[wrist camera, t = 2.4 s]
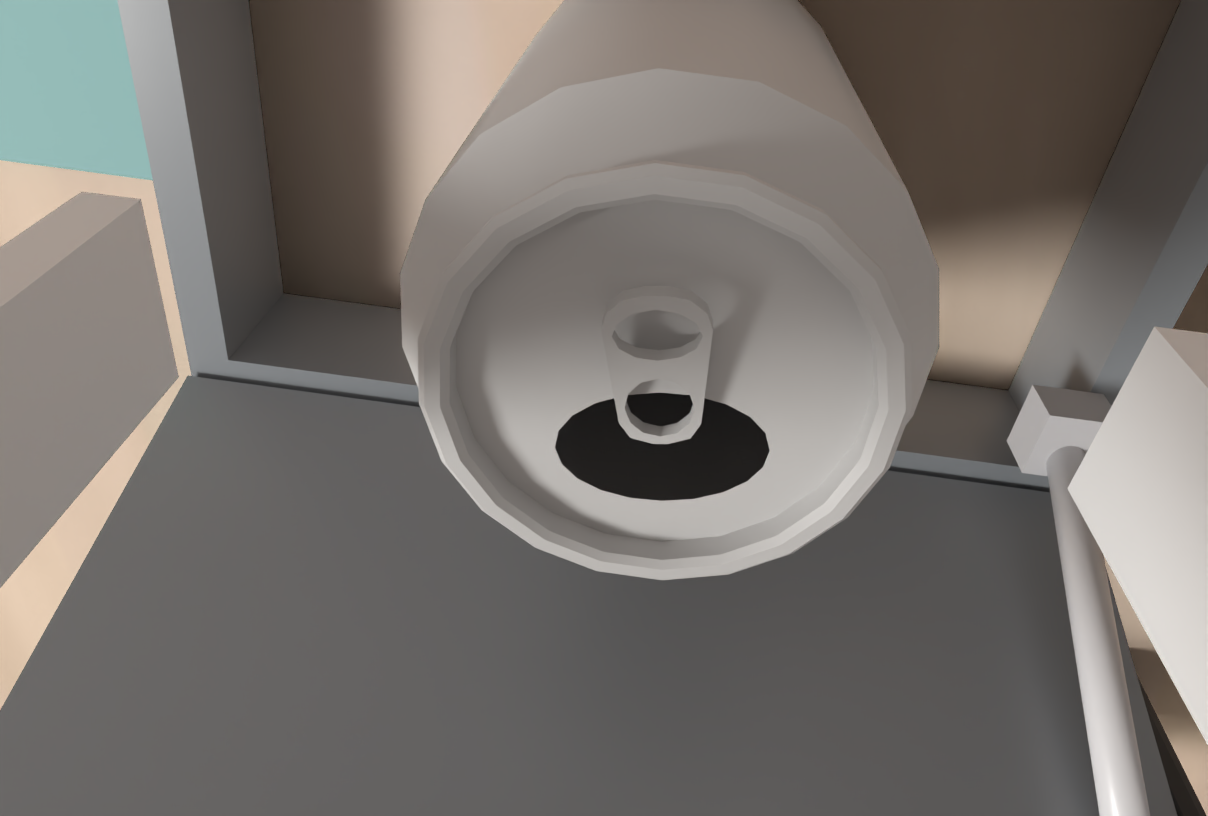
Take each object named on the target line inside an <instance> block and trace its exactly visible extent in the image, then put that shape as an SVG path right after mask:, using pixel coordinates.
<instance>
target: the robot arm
mask: <svg viewBox="0 0 1208 816" xmlns="http://www.w3.org/2000/svg"><path fill="white" fill-rule="evenodd" d="M178 377H179V376H178V372H177V367H176V362H175V358H174V353H173V348H172V343H171V339H170V334H169V329H168V325H167V320H166V315H165V311H164V306H163V301H162V296H161V292H160V287H159V282H158V278H157V273H156V268H155V263H154V259H153V254H152V249H151V245H150V240H149V235H148V231H147V226H146V221H145V216H144V212H143V207H142V202H141V199H135V198H127V197H119V196H111V195H103V194H96V193H88V192H81V193H79V194H78V195H76V196H75V197H73V198H72V199H70V200H69V201H67V202H66V203H64V204H63V205H61V206H60V207H59V208H57V209H56V210H54V211H53V212H51V213H50V214H48V215H47V216H45V217H44V218H42V219H41V220H39V221H38V222H37V223H35V224H34V225H32V226H31V227H29V228H28V229H26V230H25V231H23V232H22V233H20V234H19V235H17V236H16V237H15V238H13V239H12V240H10V241H9V242H7V243H6V244H4V245H3V246H1V247H0V588H1V586H2V585H3V584H4V583H5V582H6V581H7V579H8V578H9V577H10V576H11V575H12V573H13V572H14V571H15V570H16V569H17V568H18V566H19V565H20V564H21V563H22V562H23V560H24V559H25V558H26V557H27V556H28V555H29V553H30V552H31V551H32V550H33V549H34V547H35V546H36V545H37V544H38V543H39V542H40V540H41V539H42V538H43V537H44V536H45V534H46V533H47V532H48V531H49V530H50V529H51V527H52V526H53V525H54V524H55V523H56V521H57V520H58V519H59V518H60V517H61V516H62V514H63V513H64V512H65V511H66V510H67V508H68V507H69V506H70V505H71V504H72V503H73V501H74V500H75V499H76V498H77V497H78V495H79V494H80V493H81V492H82V491H83V490H84V488H85V487H86V486H87V485H88V484H89V482H90V481H91V480H92V479H93V478H94V477H95V475H96V474H97V473H98V472H99V471H100V469H101V468H102V467H103V466H104V465H105V464H106V462H107V461H108V460H109V459H110V458H111V456H112V455H113V454H114V453H115V452H116V451H117V449H118V448H119V447H120V446H121V445H122V443H123V442H124V441H125V440H126V439H127V438H128V436H129V435H130V434H131V433H132V432H133V430H134V429H135V428H136V427H137V426H138V425H139V423H140V422H141V421H142V420H143V419H144V417H145V416H146V415H147V414H148V413H149V412H150V410H151V409H152V408H153V407H154V406H155V404H156V403H157V402H158V401H159V400H160V399H161V397H162V396H163V395H164V394H165V393H166V391H167V390H168V389H169V388H170V387H171V386H172V384H173V383H174V382H175V381H176V380H177V378H178ZM1067 489H1068V491H1069V492H1070V494H1071V496H1072V498H1073V500H1074V502H1075V503H1076V505H1077V507H1078V509H1079V511H1080V513H1081V514H1082V516H1083V518H1084V520H1085V522H1086V524H1087V525H1088V527H1089V529H1090V531H1091V533H1092V535H1093V536H1094V538H1095V540H1096V542H1097V544H1098V546H1099V547H1100V549H1101V551H1102V553H1103V555H1104V557H1105V558H1106V560H1107V562H1108V564H1109V566H1110V568H1111V569H1112V571H1113V573H1114V575H1115V577H1116V578H1117V580H1118V582H1119V584H1120V586H1121V588H1122V589H1123V591H1124V593H1125V595H1126V597H1127V599H1128V600H1129V602H1130V604H1131V606H1132V608H1133V610H1134V611H1135V613H1136V615H1137V617H1138V619H1139V621H1140V622H1141V624H1142V626H1143V628H1144V630H1145V632H1146V633H1147V635H1148V637H1149V639H1150V641H1151V643H1152V644H1153V646H1154V648H1155V650H1156V652H1157V654H1158V655H1159V657H1160V659H1161V661H1162V663H1163V665H1164V666H1165V668H1166V670H1167V672H1168V674H1169V675H1170V677H1171V679H1172V681H1173V683H1174V685H1175V686H1176V688H1177V690H1178V692H1179V694H1180V696H1181V697H1182V699H1183V701H1184V703H1185V705H1186V707H1187V708H1188V710H1189V712H1190V714H1191V716H1192V718H1193V719H1194V721H1195V723H1196V725H1197V727H1198V729H1199V730H1200V732H1201V734H1202V736H1203V738H1204V740H1205V741H1206V743H1207V745H1208V333H1202V332H1194V331H1186V330H1178V329H1170V328H1162V327H1154V328H1153V330H1152V332H1151V334H1150V335H1149V337H1148V339H1147V341H1146V343H1145V345H1144V347H1143V348H1142V350H1141V352H1140V354H1139V356H1138V358H1137V360H1136V362H1135V363H1134V365H1133V367H1132V369H1131V371H1130V373H1129V375H1128V376H1127V378H1126V380H1125V382H1124V384H1123V386H1122V388H1121V390H1120V391H1119V393H1118V395H1117V397H1116V399H1115V401H1114V403H1113V404H1112V406H1111V408H1110V410H1109V412H1108V414H1107V416H1106V417H1105V419H1104V421H1103V423H1102V425H1101V427H1100V429H1099V431H1098V432H1097V434H1096V436H1095V438H1094V440H1093V442H1092V444H1091V445H1090V447H1089V449H1088V451H1087V453H1086V455H1085V457H1084V459H1083V460H1082V462H1081V464H1080V466H1079V468H1078V470H1077V472H1076V473H1075V475H1074V477H1073V479H1072V481H1071V483H1070V485H1069V487H1068V488H1067Z"/></svg>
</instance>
